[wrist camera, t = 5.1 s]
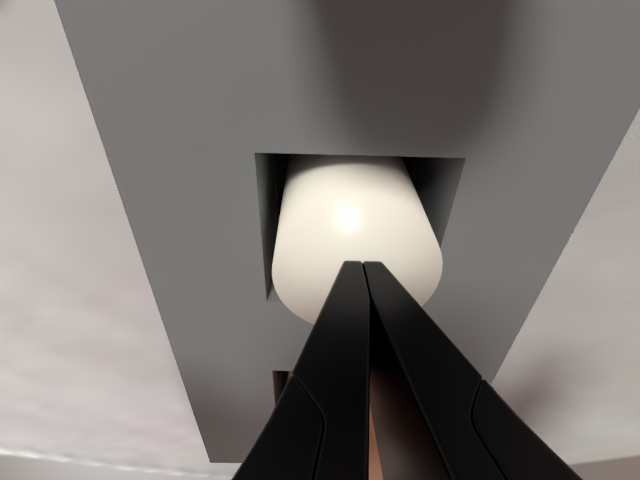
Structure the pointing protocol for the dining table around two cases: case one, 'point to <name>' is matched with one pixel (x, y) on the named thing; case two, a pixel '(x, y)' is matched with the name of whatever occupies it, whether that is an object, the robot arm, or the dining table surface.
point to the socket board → (347, 139)
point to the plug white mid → (350, 228)
